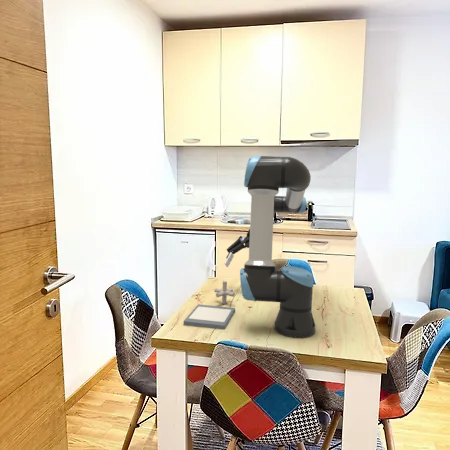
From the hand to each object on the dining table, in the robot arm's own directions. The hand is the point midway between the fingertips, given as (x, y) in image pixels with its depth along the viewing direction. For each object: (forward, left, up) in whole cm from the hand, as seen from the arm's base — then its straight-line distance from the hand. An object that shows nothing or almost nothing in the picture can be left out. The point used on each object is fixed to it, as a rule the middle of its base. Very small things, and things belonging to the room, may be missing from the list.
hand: (238, 267), depth 193 cm
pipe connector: (-5, +9, -14) cm, 18 cm away
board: (-19, +21, -14) cm, 32 cm away
